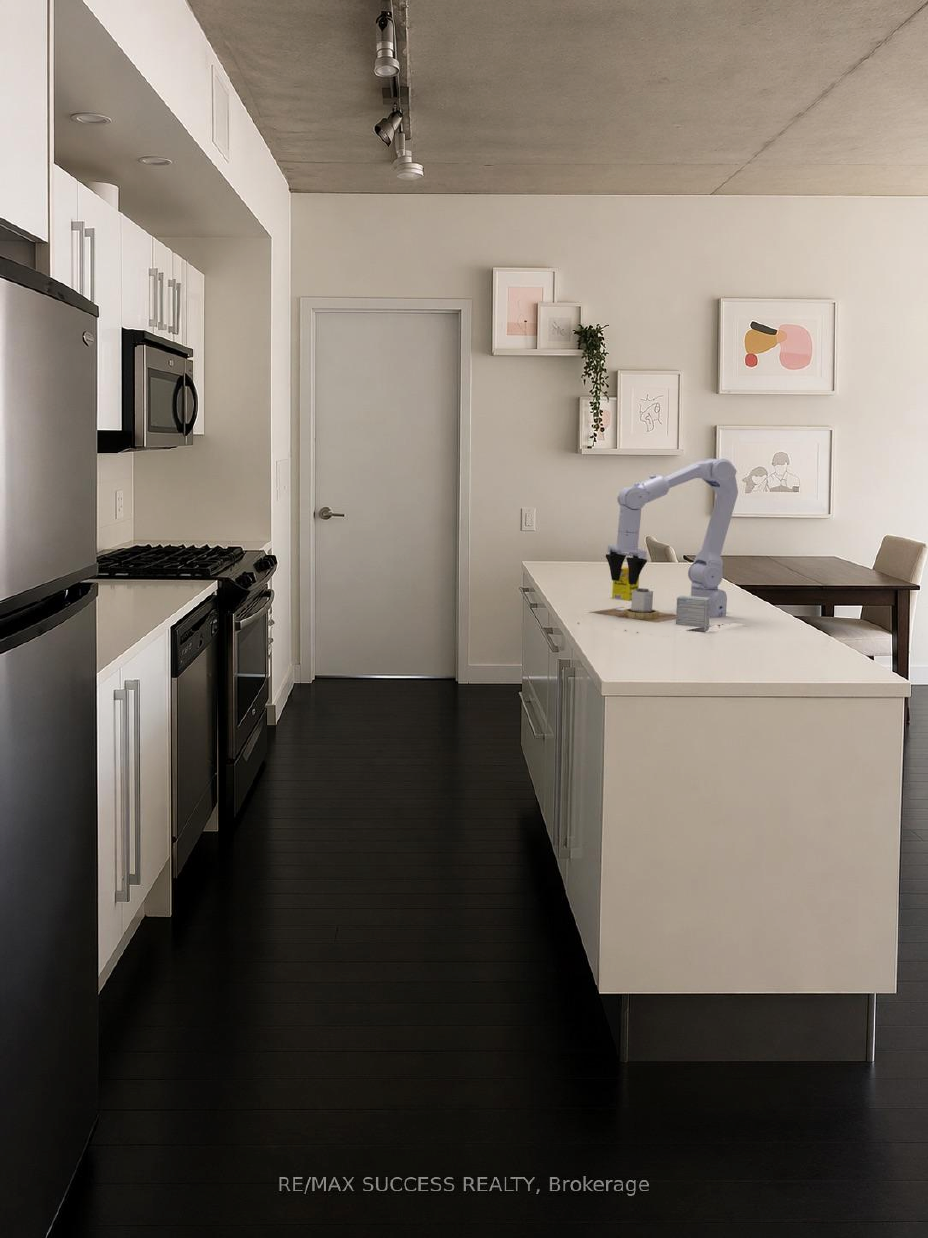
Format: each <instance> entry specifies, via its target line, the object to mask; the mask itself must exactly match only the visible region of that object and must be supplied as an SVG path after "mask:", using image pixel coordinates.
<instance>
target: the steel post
mask: <svg viewBox="0 0 928 1238" xmlns="http://www.w3.org/2000/svg"><path fill="white" fill-rule="evenodd" d="M653 599H654V591H653V590H649V588H641V587H639V588H638V589H637V590H634V591H632V600H631V606H630V607H631V612H636V613H652V609H653Z"/></svg>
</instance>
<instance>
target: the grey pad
mask: <svg viewBox="0 0 928 1238" xmlns="http://www.w3.org/2000/svg"><path fill="white" fill-rule="evenodd" d="M624 607H625V606H624ZM617 608H618V609H614V610H615V611H622V612H624V610H625V609H631V606H626V607H625V608H620V607H617Z"/></svg>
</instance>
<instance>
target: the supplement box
mask: <svg viewBox="0 0 928 1238" xmlns="http://www.w3.org/2000/svg"><path fill="white" fill-rule="evenodd" d="M628 575H629V570H628V566H625V565H622V568H621V575H620V579H619V580H612V591H611V599H612V600H618V601H619V600H620V601H627V602H628V601H632V591H634V590H637V589H638V588H640V587H639V586H640V584H639V583H640V577H639V578H638V581H637V583H636V584H629V581H628Z"/></svg>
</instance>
